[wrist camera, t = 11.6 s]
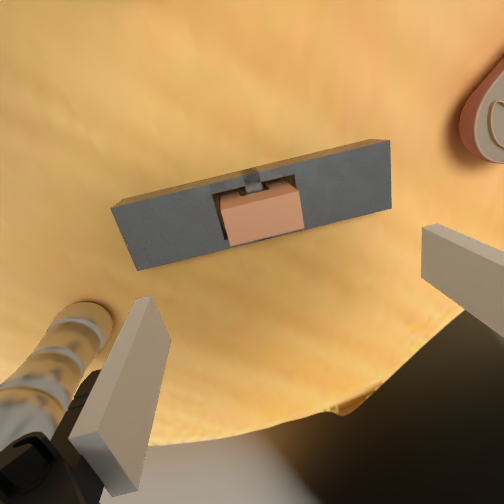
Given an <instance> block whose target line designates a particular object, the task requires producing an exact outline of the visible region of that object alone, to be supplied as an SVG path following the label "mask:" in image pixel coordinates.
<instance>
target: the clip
mask: <svg viewBox="0 0 504 504" xmlns="http://www.w3.org/2000/svg"><path fill="white" fill-rule="evenodd" d="M264 187H265V191H260V192H256V193H252V194H248V195H244V196H240V194H239V191H238V188H236V189H232V190H228V191H224V192H220V203H221V213H222V217H223V221H224V224H225V228H226V232H227V235H228V239H229V243H230V246H234V245H239V244H243V243H247V242H251V241H255V240H259V239H263V238H267V237H271V236H275V235H279V234H283V233H287V232H291V231H295V230H300V229H304V222H303V215H302V209H301V202H300V196H299V191H298V190H297V189H295V188H294V187H293V186H291V185H290V184H289V183H287V182H286V181H285V180H283V179H282V178H277V179H273V180H269V181H265V182H264Z"/></svg>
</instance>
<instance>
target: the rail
mask: <svg viewBox="0 0 504 504" xmlns="http://www.w3.org/2000/svg"><path fill="white" fill-rule="evenodd" d="M285 176H287V179H288V183H289V184H290V185H291V186H293V187H294V188H295V189H297V190H298V191H299V196H300V202H301V209H302V215H303V222H304V229H300V230H295V231H291V232H287V233H283V234H279V235H275V236H271V237H267V238H263V239H259V240H255V241H251V242H247V243H243V244H239V245H234V246H230V243H229V239H228V235H227V232H226V228H224V227H223V223H222V220H221V216H220V212H219V209H218V205H217V201H216V198H215V193H219V192H223V191H227V190H231V189H235V188H239V187H244V190H245V194H246V195H248V194H252V193H256V192H260V191H263V190H262V185H261V182H264V181H268V180H272V179H276V178H280V177H285ZM391 208H392V203H391V160H390V140H377V139H369V140H365V141H361V142H357V143H352V144H348V145H344V146H340V147H336V148H332V149H328V150H324V151H320V152H315V153H311V154H307V155H303V156H299V157H295V158H291V159H287V160H283V161H278V162H274V163H270V164H266V165H262V166H258V167H254V168H250V169H246V170H241V171H237V172H233V173H229V174H225V175H221V176H217V177H213V178H208V179H204V180H200V181H196V182H192V183H188V184H184V185H180V186H176V187H171V188H167V189H163V190H159V191H155V192H151V193H147V194H143V195H139V196H134V197H130V198H126V199H123V200H121V201H120V202H118V203H117V204H116V205H114V206H113V207H111V208H110V209H111V211H112V213H113V216H114V218H115V220H116V223H117V225H118V227H119V229H120V232H121V234H122V236H123V239H124V241H125V243H126V246H127V248H128V250H129V253H130V255H131V257H132V260H133V262H134V264H135V267H136V269H137V271H139V270H143V269H147V268H151V267H155V266H159V265H163V264H167V263H172V262H176V261H180V260H184V259H188V258H192V257H196V256H200V255H204V254H208V253H212V252H216V251H220V250H224V249H228V248H233V247H237V246H241V245H245V244H249V243H253V242H257V241H261V240H265V239H269V238H273V237H277V236H281V235H285V234H289V233H294V232H298V231H302V230H306V229H310V228H314V227H318V226H322V225H326V224H330V223H334V222H338V221H342V220H346V219H350V218H355V217H359V216H363V215H367V214H371V213H375V212H379V211H383V210H387V209H391Z"/></svg>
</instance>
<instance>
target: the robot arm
mask: <svg viewBox="0 0 504 504" xmlns="http://www.w3.org/2000/svg"><path fill="white" fill-rule="evenodd" d="M421 278H423V279H424V280H425V281H427V282H428V283H430V284H431V285H432V286H434V287H435V288H436V289H438V290H439V291H441V292H442V293H443V294H445V295H446V296H447V297H449V298H450V299H452V300H453V301H454V302H456V303H457V304H458V305H460V306H461V307H463V308H464V309H465V310H467V311H468V312H469V313H471V314H472V315H474V316H475V317H476V318H478V319H479V320H481V321H482V322H483V323H485V324H486V325H488V326H489V327H490V328H491V329H493V330H494V331H496V332H497V333H498V334H500V335H501V336H502V337H504V252H503V251H501V250H498V249H496V248H494V247H491V246H489V245H487V244H484V243H482V242H480V241H477V240H475V239H473V238H470V237H468V236H466V235H463V234H461V233H459V232H456V231H454V230H452V229H449V228H447V227H445V226H442V225H440V224H434V225H430V226H426V227H422V252H421ZM170 343H171V339H170V336H169V334H168V332H167V330H166V327H165V325H164V323H163V320H162V318H161V316H160V313H159V311H158V309H157V306H156V304H155V302H154V299H153V297H152V295H150V296H146V297H142V298H138V299H135V301H134V304H133V306H132V308H131V310H130V312H129V314H128V316H127V318H126V320H125V322H124V324H123V326H122V328H121V330H120V332H119V334H118V337H117V339H116V341H115V343H114V345H113V347H112V349H111V351H110V353H109V355H108V357H107V359H106V361H105V363H104V365H103V367H102V369H100V370H96V371H92V372H91V373H90V375H89V376H88V377H87V378H86V379H85V380H84V381H83V382H82V383H81V385H80V386H79V388H78V390H77V392H76V394H75V396H74V400H72V401H71V403H70V405H69V407H68V411H66V412H65V414H64V416H63V418H62V420H61V422H60V424H59V425H58V427H57V429H56V431H55V433H54V435H53V437H52V438H51V440H49V439H48V438H47V437H46V435H45V434H44V433H43V432H31V433H28V434H25V435H23V436H21V437H20V438H18V439H16V440H15V441H13V442H12V443H10V444H9V445H8V446H7V447H6V448H4V449H3V450H2V451H1V452H0V504H100V503H99V500H100V497H101V494H102V491H103V488H104V487H105V488H106V489H107V491H108V492H109V493H110V495H111V496H112V497H115V496H119V495H123V494H127V493H130V492H135V491H138V487H139V483H140V478H141V474H142V469H143V464H144V460H145V456H146V451H147V447H148V442H149V438H150V433H151V429H152V424H153V420H154V415H155V411H156V406H157V402H158V397H159V393H160V388H161V384H162V379H163V375H164V370H165V365H166V361H167V356H168V352H169V347H170Z"/></svg>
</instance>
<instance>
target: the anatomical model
mask: <svg viewBox="0 0 504 504" xmlns="http://www.w3.org/2000/svg"><path fill="white" fill-rule="evenodd" d="M459 134H460V137H461V140H462V143H463V144H464V146H465V147H466V148H467V150H468V151H469V152H470V153H472V154H473V155H474V156H476V157H478V158H480V159H482V160H485V161H488V162H492V163H499V164H504V57H503V59H502V60H501V61H500V62H499V63H498V64H497V65H496V67H495V68H494V69H493V70H492V71H491V72H490V73H489V75H488V76H487V77H486V78H485V79H484V80H483V82H482V83H481V84H480V85H479V86H478V87H477V89H476V90H475V91H474V92H473V93H472V94H471V96H470V97H469V98H468V100H467V102H466V104H465V106H464V107H463V110H462V113H461V116H460V121H459Z"/></svg>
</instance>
